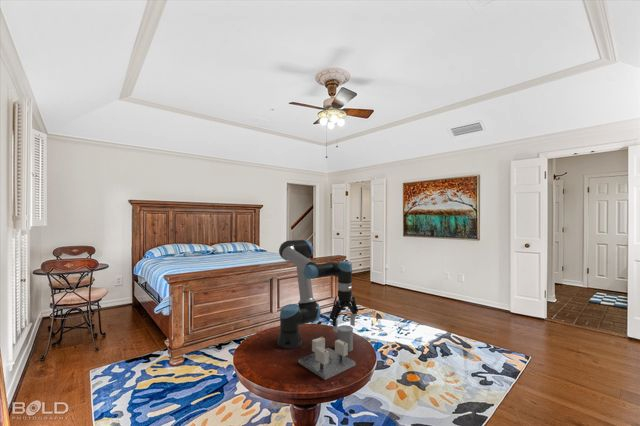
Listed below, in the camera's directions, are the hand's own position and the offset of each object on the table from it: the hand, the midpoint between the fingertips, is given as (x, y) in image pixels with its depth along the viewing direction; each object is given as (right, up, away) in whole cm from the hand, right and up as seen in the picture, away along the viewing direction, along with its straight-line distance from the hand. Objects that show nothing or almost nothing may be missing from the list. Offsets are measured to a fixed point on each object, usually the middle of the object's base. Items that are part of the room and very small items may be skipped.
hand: (344, 328), depth 167 cm
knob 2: (-2, -17, +1) cm, 17 cm away
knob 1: (-12, -17, -9) cm, 22 cm away
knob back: (-14, -17, +4) cm, 22 cm away
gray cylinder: (+2, -19, +18) cm, 26 cm away
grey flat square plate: (-9, -19, -1) cm, 21 cm away
